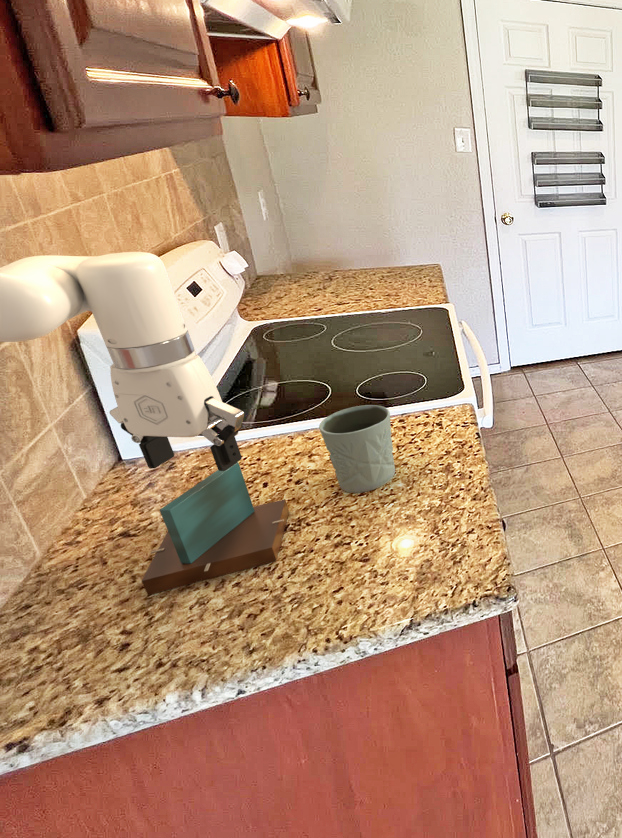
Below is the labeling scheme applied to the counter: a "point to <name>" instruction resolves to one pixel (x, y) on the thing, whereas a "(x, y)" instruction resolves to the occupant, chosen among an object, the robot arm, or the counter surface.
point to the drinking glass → (360, 447)
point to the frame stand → (222, 551)
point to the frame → (207, 512)
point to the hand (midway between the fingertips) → (196, 463)
